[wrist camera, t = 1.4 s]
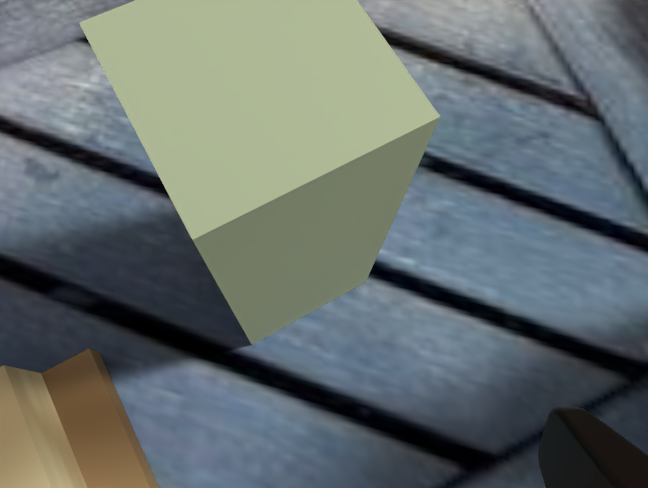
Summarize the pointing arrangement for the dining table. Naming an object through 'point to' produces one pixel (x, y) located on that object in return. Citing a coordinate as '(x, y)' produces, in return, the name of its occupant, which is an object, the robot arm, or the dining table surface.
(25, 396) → the birch ridge
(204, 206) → the sage post
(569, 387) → the dining table surface
